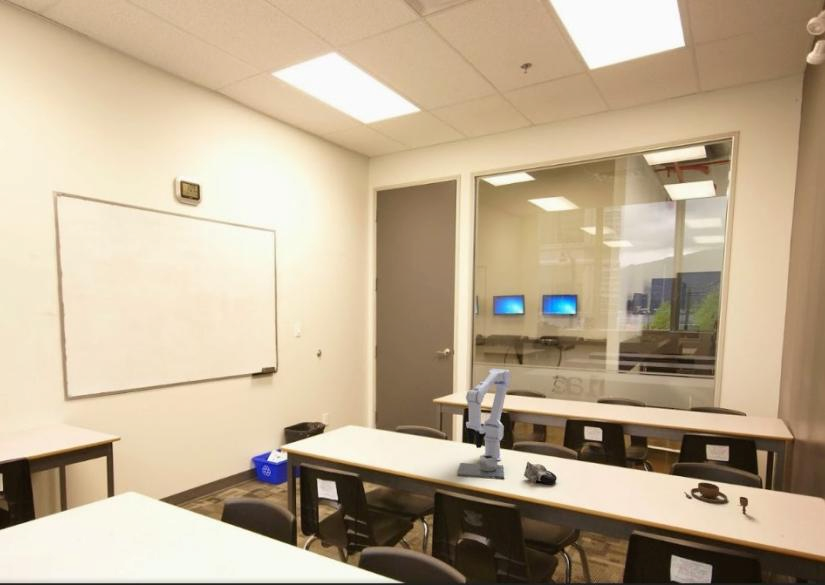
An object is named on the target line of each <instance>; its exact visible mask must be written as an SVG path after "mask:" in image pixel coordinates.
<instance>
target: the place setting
mask: <svg viewBox="0 0 825 585" xmlns="http://www.w3.org/2000/svg"><path fill="white" fill-rule="evenodd" d="M683 493H684V494H685V497H686V498H688V499H692V496H693V498H695V497H696V498H695V499H697V500H700V501H702V500H703V502H707V503H712V504H713V503H714V504H723V503H726V502H727V500H728V496H727V495H726V494H725V493H723V492H721V491H720V487H719V486H718V485H716V484H714V483H709V482H698V483H697V487H694V488H691V489H690V494H691V495H692V496H691V495H690V494H688V493H686V491H683ZM696 493H699V494H700V495H701V496H699V495H697V494H696ZM717 497H721V498H722V499H715V498H717ZM739 505H740V506H742V509H741V510H742V515H747V513H746V512H747V509H746V507H748V506H749V499H748V498H747V497H745V496H739Z"/></svg>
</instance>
